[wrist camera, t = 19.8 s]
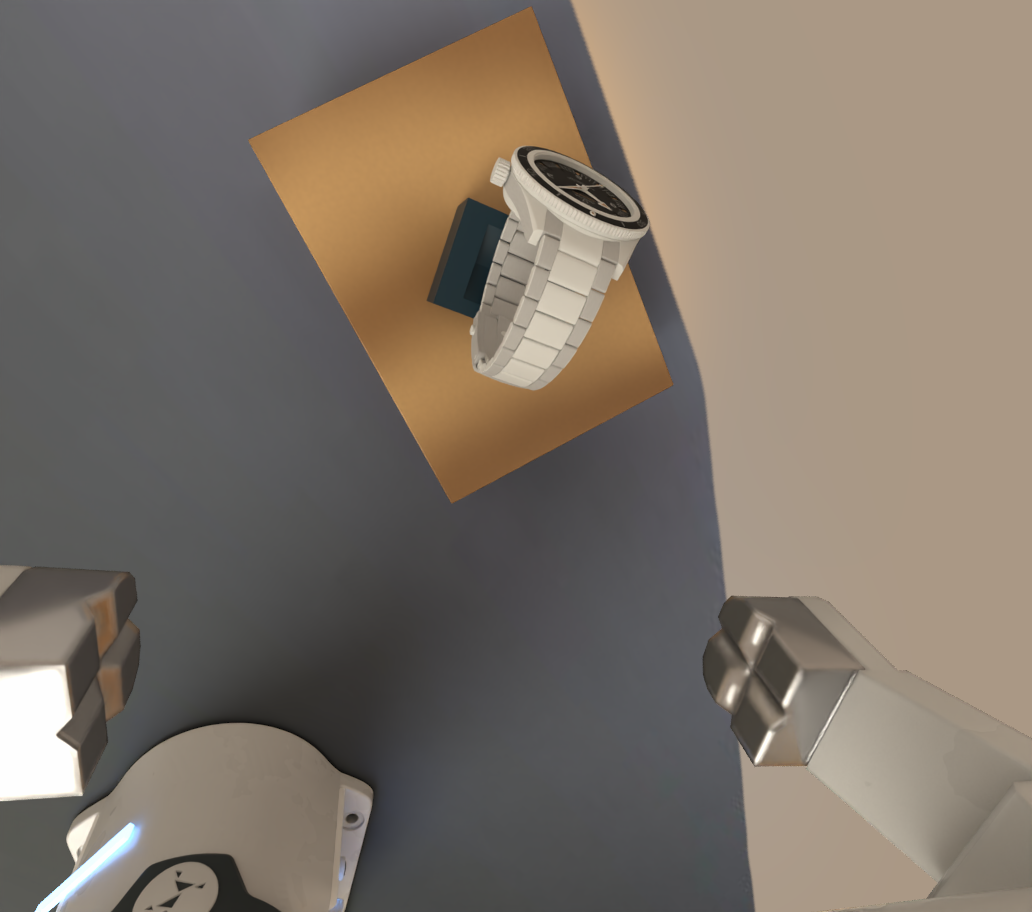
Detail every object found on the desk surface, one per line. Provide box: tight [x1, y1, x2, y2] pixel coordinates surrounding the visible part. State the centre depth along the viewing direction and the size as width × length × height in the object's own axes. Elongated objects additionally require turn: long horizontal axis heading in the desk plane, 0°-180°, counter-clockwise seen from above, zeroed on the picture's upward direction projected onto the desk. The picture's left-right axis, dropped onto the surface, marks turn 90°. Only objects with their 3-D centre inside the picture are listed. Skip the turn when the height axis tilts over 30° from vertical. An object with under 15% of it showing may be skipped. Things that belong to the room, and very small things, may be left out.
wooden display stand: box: [249, 7, 673, 503], centre depth 32 cm, size 18×13×8 cm
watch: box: [427, 146, 650, 390], centre depth 23 cm, size 6×8×11 cm
